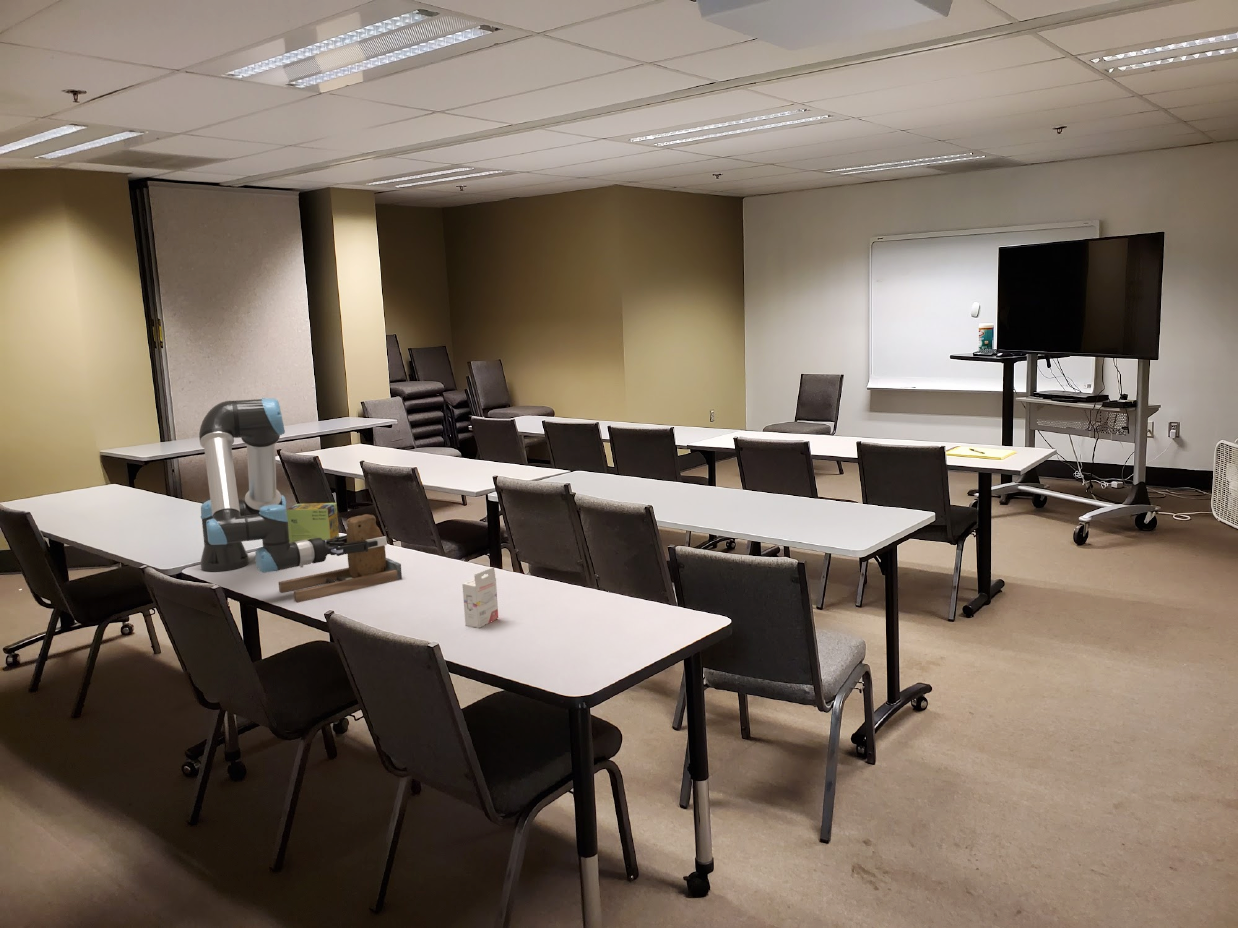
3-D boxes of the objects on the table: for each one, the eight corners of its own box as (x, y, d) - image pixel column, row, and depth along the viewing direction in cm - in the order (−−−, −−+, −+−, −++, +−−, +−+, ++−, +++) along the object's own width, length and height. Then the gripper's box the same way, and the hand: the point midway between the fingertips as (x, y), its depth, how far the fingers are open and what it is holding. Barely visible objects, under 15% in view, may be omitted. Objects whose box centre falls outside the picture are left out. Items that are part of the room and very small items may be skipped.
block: (357, 583, 286) (352, 521, 283) (347, 578, 292) (342, 517, 288) (389, 576, 293) (385, 514, 290) (379, 571, 299) (374, 511, 295)
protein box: (331, 550, 330) (327, 508, 327) (288, 551, 330) (284, 509, 328) (340, 543, 340) (337, 502, 338) (299, 544, 340) (295, 503, 338)
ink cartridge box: (484, 616, 254) (482, 564, 251) (499, 618, 251) (496, 566, 249) (464, 625, 247) (460, 572, 244) (478, 628, 244) (475, 574, 242)
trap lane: (279, 591, 282) (277, 575, 282) (381, 569, 303) (380, 554, 302) (297, 602, 271) (295, 585, 270) (401, 579, 292) (400, 563, 291)
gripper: (298, 557, 288) (367, 543, 302) (323, 570, 272) (395, 555, 286) (296, 533, 287) (365, 521, 301) (321, 545, 271) (393, 532, 285)
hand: (380, 538), depth 294 cm, fingers open, 8 cm apart
